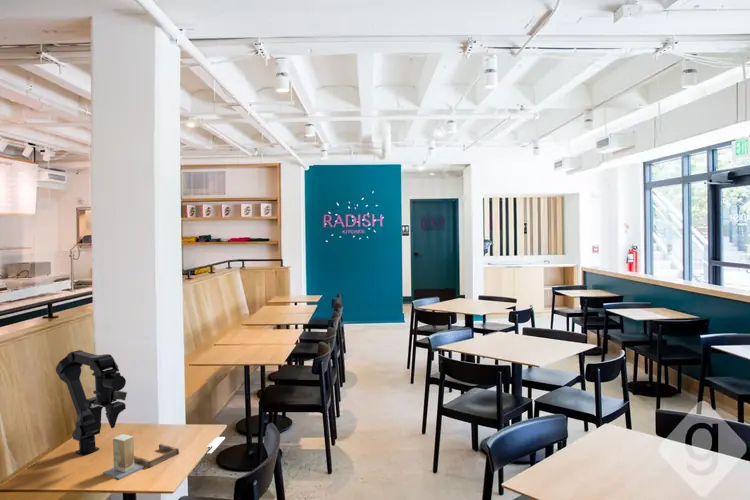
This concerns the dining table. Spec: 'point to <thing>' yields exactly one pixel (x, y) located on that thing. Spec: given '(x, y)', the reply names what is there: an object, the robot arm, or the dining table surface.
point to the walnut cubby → (147, 463)
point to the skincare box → (123, 453)
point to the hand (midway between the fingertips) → (105, 425)
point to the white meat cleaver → (215, 444)
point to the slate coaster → (120, 474)
